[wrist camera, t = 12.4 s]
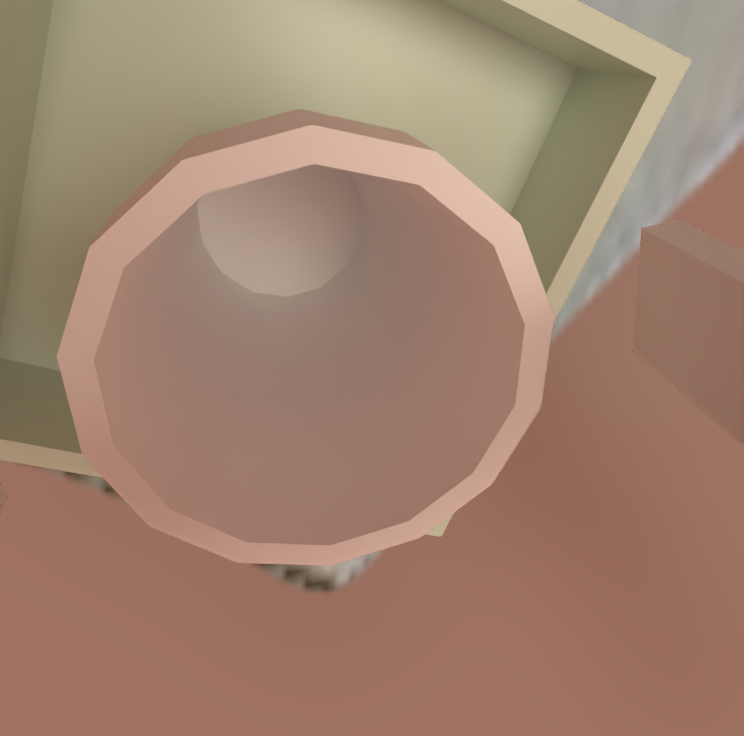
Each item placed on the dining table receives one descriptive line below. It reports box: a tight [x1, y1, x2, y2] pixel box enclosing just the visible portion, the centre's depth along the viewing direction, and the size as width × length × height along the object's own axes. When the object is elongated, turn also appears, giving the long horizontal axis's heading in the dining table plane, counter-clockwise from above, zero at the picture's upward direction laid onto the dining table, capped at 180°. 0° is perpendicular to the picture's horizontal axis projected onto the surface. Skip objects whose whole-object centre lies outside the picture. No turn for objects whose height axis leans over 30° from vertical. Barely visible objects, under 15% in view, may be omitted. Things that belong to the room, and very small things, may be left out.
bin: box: [0, 0, 692, 537], centre depth 22 cm, size 19×19×6 cm
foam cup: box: [57, 109, 554, 566], centre depth 18 cm, size 10×9×13 cm
